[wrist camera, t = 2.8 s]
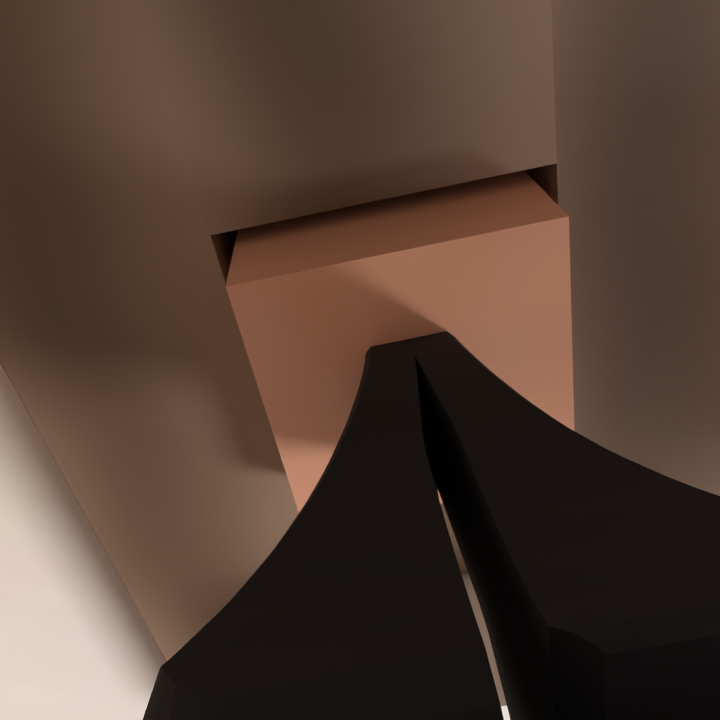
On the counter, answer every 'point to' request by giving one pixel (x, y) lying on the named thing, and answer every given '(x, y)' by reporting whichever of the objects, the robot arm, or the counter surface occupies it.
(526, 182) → the key terracotta
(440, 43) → the brown rectangular tray
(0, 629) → the counter surface
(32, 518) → the counter surface
